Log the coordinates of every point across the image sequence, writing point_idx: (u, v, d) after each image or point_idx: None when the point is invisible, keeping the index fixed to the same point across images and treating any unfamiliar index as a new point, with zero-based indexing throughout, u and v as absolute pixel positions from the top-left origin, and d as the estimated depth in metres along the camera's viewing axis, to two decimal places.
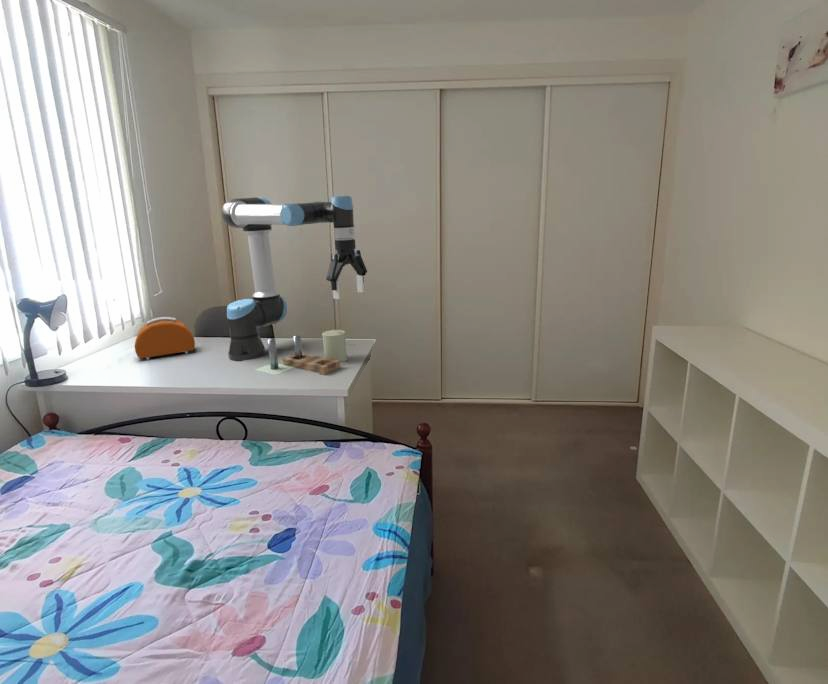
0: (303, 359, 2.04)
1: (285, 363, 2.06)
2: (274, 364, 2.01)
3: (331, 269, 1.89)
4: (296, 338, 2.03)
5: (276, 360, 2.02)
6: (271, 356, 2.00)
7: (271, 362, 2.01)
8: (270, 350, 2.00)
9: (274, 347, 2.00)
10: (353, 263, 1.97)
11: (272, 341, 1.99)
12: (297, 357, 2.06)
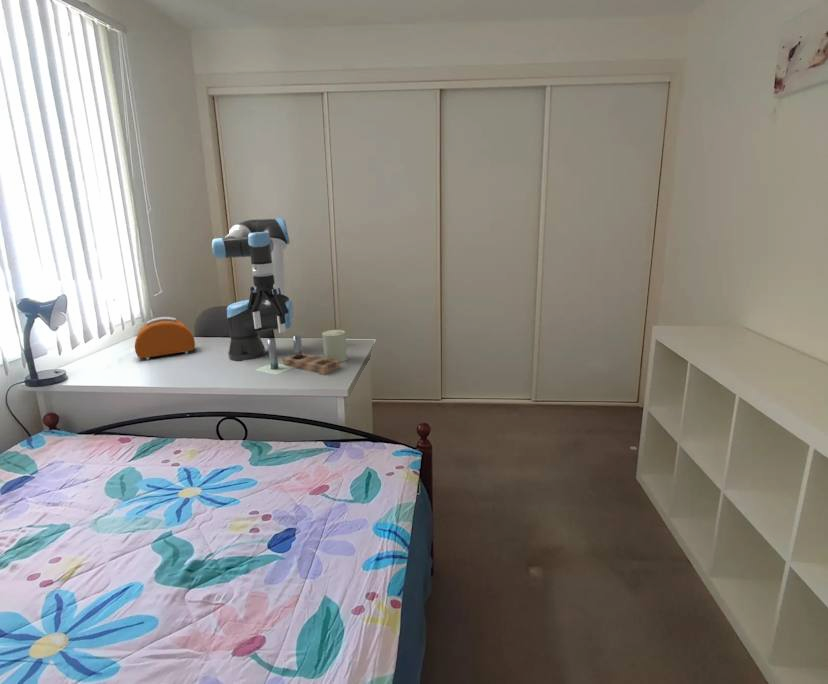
0: (303, 359, 2.04)
1: (285, 363, 2.06)
2: (274, 364, 2.01)
3: None
4: (296, 338, 2.03)
5: (276, 360, 2.02)
6: (271, 356, 2.00)
7: (271, 362, 2.01)
8: (270, 350, 2.00)
9: (274, 347, 2.00)
10: None
11: (272, 341, 1.99)
12: (297, 357, 2.06)
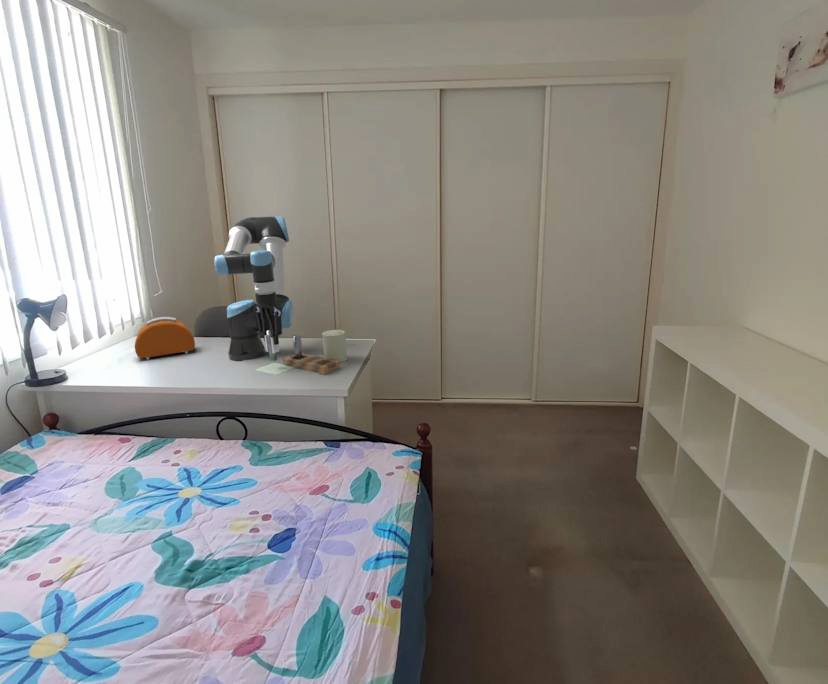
0: (303, 359, 2.04)
1: (285, 363, 2.06)
2: (273, 355, 2.01)
3: None
4: (296, 338, 2.03)
5: None
6: (270, 347, 2.00)
7: (270, 353, 2.01)
8: (269, 341, 1.99)
9: None
10: None
11: None
12: (297, 357, 2.06)
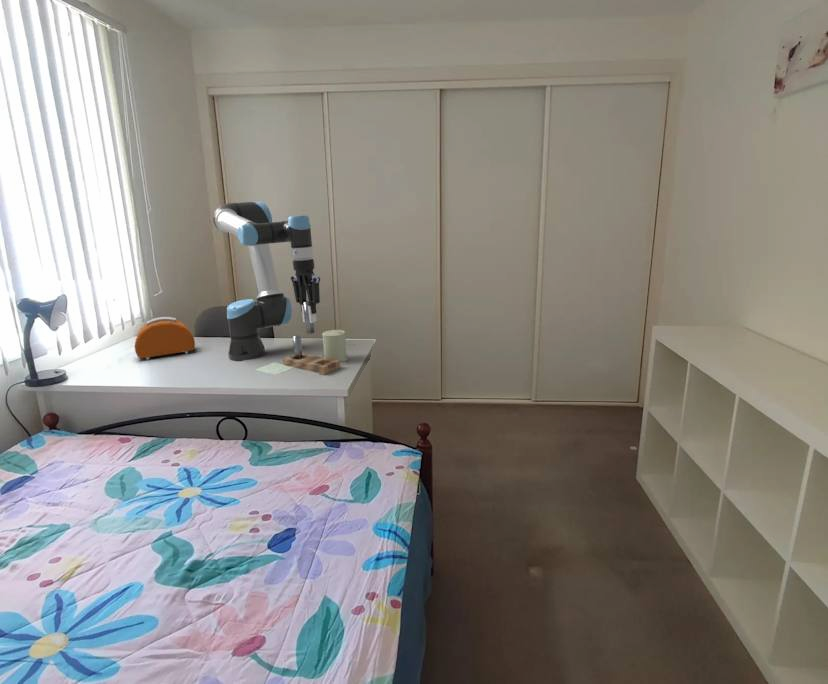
0: (303, 359, 2.04)
1: (285, 363, 2.06)
2: (310, 328, 1.94)
3: None
4: (296, 338, 2.03)
5: (312, 324, 1.95)
6: (307, 319, 1.93)
7: (307, 326, 1.94)
8: (306, 313, 1.93)
9: None
10: None
11: (308, 303, 1.92)
12: (297, 357, 2.06)
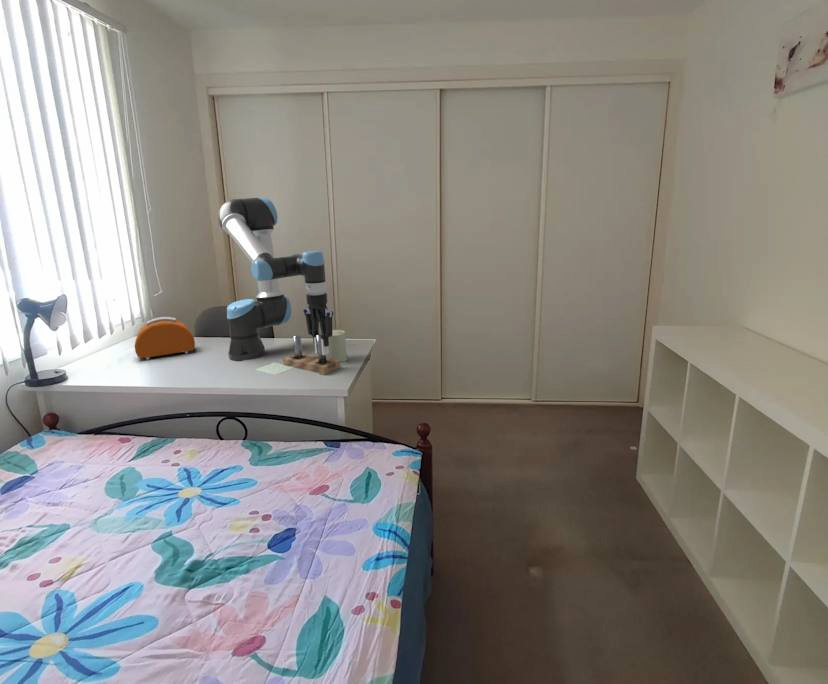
0: (303, 359, 2.04)
1: (285, 363, 2.06)
2: (323, 360, 1.98)
3: None
4: (296, 338, 2.04)
5: (325, 356, 1.99)
6: (320, 352, 1.97)
7: (320, 358, 1.98)
8: (319, 346, 1.97)
9: None
10: None
11: (321, 337, 1.96)
12: (297, 357, 2.06)
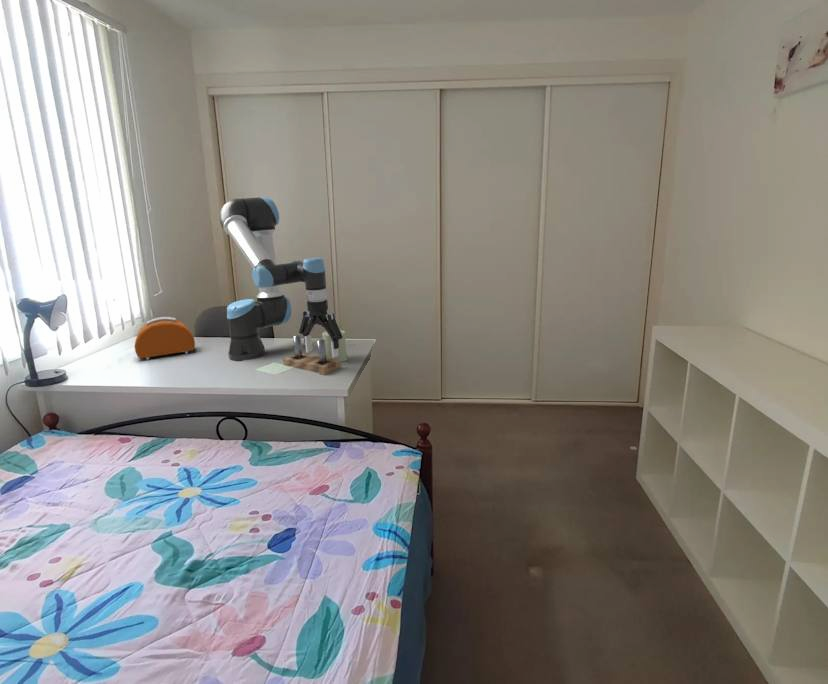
0: (303, 359, 2.04)
1: (285, 363, 2.06)
2: None
3: None
4: (297, 338, 2.03)
5: (325, 361, 1.99)
6: (321, 357, 1.98)
7: (320, 363, 1.99)
8: (320, 351, 1.97)
9: (324, 348, 1.97)
10: None
11: (322, 342, 1.96)
12: (297, 357, 2.06)
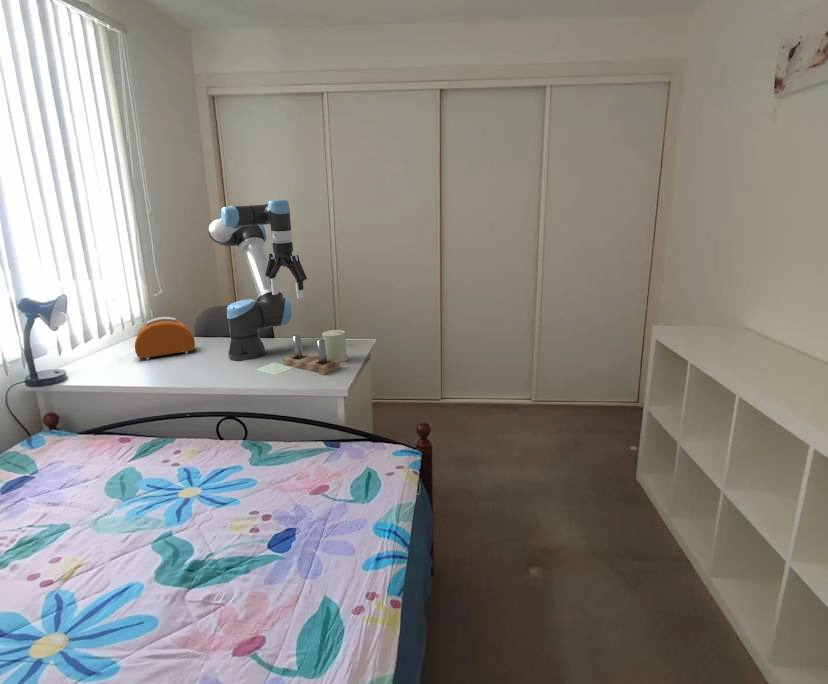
0: (303, 359, 2.04)
1: (285, 363, 2.06)
2: None
3: None
4: (296, 338, 2.03)
5: (325, 361, 1.99)
6: (321, 357, 1.98)
7: (320, 363, 1.99)
8: (320, 351, 1.97)
9: (324, 348, 1.97)
10: None
11: (322, 342, 1.96)
12: (297, 357, 2.06)
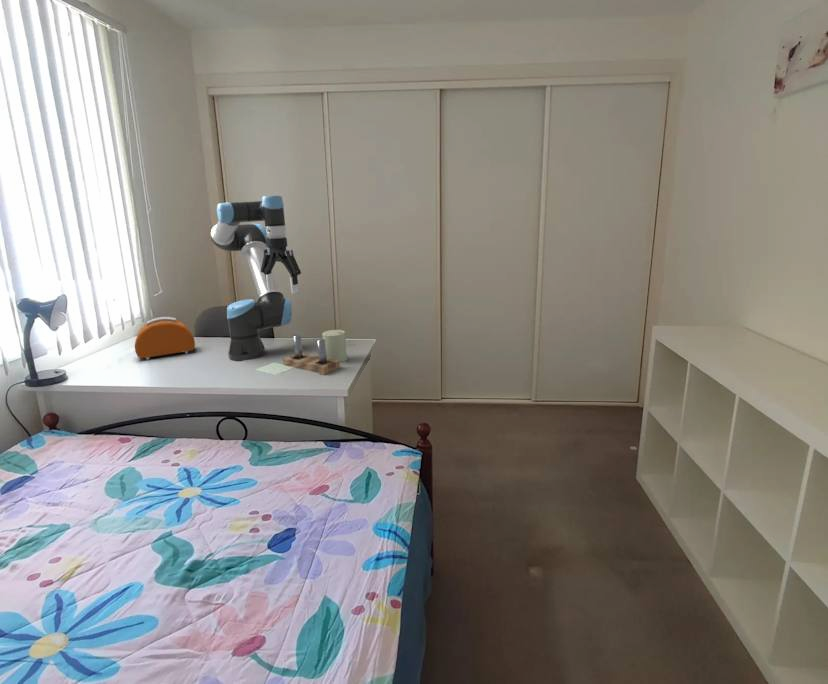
0: (303, 359, 2.04)
1: (285, 363, 2.06)
2: None
3: None
4: (297, 338, 2.03)
5: (325, 361, 1.99)
6: (321, 357, 1.98)
7: (320, 363, 1.99)
8: (320, 351, 1.97)
9: (324, 348, 1.98)
10: None
11: (322, 342, 1.96)
12: (297, 357, 2.06)
